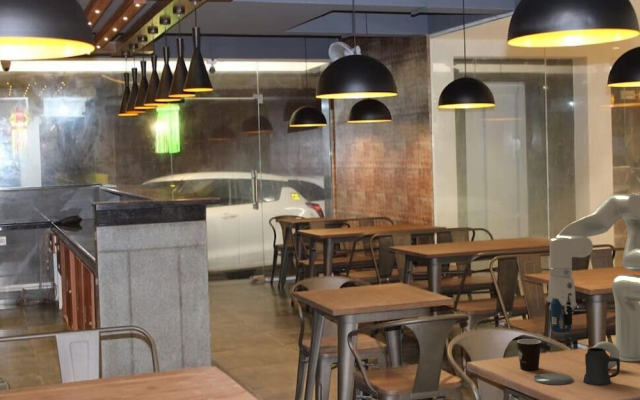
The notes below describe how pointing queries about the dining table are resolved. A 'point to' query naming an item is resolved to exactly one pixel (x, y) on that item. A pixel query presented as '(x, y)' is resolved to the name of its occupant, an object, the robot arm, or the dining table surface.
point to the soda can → (558, 318)
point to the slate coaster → (553, 379)
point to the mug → (599, 367)
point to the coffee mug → (529, 354)
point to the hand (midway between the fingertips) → (561, 322)
